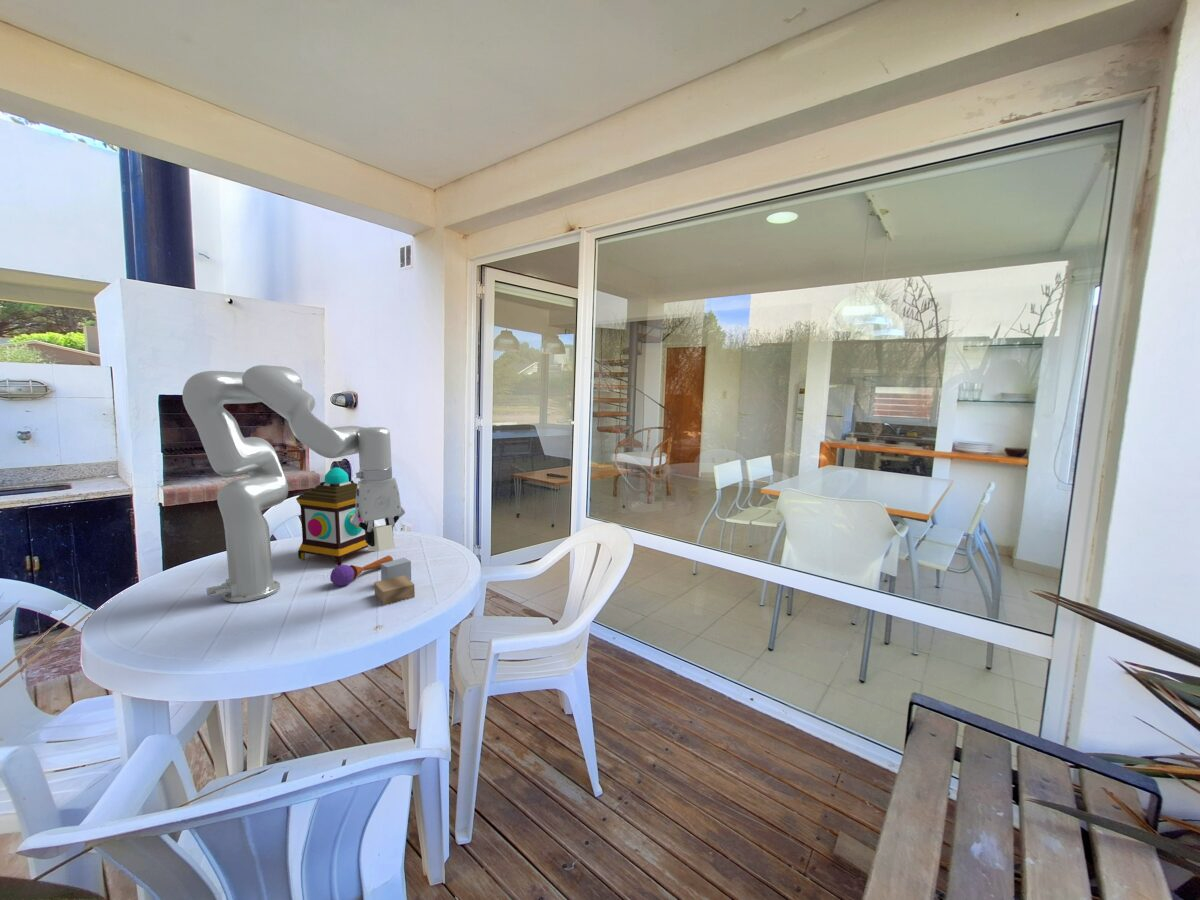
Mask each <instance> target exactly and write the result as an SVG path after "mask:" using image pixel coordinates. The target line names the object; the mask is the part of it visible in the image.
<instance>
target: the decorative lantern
mask: <svg viewBox="0 0 1200 900" xmlns="http://www.w3.org/2000/svg"><path fill="white" fill-rule="evenodd" d="M357 484H358V482H357V483H356V482H354V480H352V479H351V480H350V479H349V474H348V472H346V471H345V470H344V469H343V468H341V467H332V468H331V469H329V470H328V472H326V474H325V475H324V481H323V482H319V485H316V486H315V487H313V488H312V489H311V490H306V491H304V492H302V494H299V496H298V497H296V498H295V499H296V502H297V503H298V504H299V506H300V516H301V517H300V518H301V521H300V522H301V534H302V542H301V544H300V546H299V548H298V551H297V553H298V554H297V555H298V559H299V560H300V559H303V560H304V559H305V558H306V554H309V555H314V556H321V557H325V558H327V557H328V558H333V559H334V560H335V563H336V567H337V566H339V565H343V564H342V562H343V558H344V557H347V556H349V555H351V554H354V553H357V552H359V551H361V550H364V549H366V548H367V549H368V545H367V543H366V539H365V530H363V529H362V528H361V527H359V526H357V525H354V524H352V523H350V520H351V518H352V516H353V515H354V513H355V511H356V490H357ZM359 521H361V522H363V523H364V520H363V519H361V518H359ZM372 527H375V520H373V526H372Z"/></svg>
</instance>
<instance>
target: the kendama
mask: <svg viewBox="0 0 1200 900" xmlns="http://www.w3.org/2000/svg"><path fill="white" fill-rule="evenodd" d="M393 560H394V559H393V557H392V556H391V555H385V556H384V557H381V558H379V559H378V560H375V561H373V562H370V563H368V564H366V565H364V566H362V567H361V566H357V565H352V564H351V565H348V564H341V565H339V566H337V565H336V566H335V567H334V568H333V569H332V570H331V573H330V581H331V583H332V584H333V585H334V586H336V587H344V586H347V585H349V584H350V583H352V581H353V580H355V579H357V577H359V575H360V574H362V572H364V571H369V570H375V569H381V564H382V563H386V562H389V561H393Z"/></svg>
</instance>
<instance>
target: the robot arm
mask: <svg viewBox="0 0 1200 900" xmlns="http://www.w3.org/2000/svg"><path fill="white" fill-rule="evenodd" d="M181 395H182V402H183V406H184V408H185V410H186V412H187V414H188V416H189V418H190V419H191V421H192V423H193V424H194V427H195V428H196V430H197V433H198V436H199V439H200V441H201V444H202V446H203V449H204V451H205V453H206V454H205V455H206V456H207V459H208V462H209V464H210V467H211V468H212V469H213V471H214V472H215V473H216V474H218V475H220V476H225V477H226V476H227V477H228V476H230V477H231V476H237V475H241V474H246V473H247V474H248V475H249V476H247V477H242V478H239V479H235V480H233V481H230V482H227V483H226V484H225V485H223V486H222V487H221V488H220V489H219V491H218V494H217V498H216V499H217V505H218V508H219V511H220V514H221V518H222V521H223V528H224V535H225V536H224V537H225V547H226V560H227V570H228V571H227V572H228V578H226V579H225V582H223V583H221V585H220V584H219V585H217V586H210V587H206V595H207V596H212V595H215V597H216V596H221V595H222V599H223V600H224V601H225V602H228V601H229V602H231V603H245V601H246V602H251V601H255V600H260V599H263V598H266V597H268V596H271V595H273V594H275V593H277V592H278V591H279V590H280V588H281V583H280V582H279V581H278V580H276V579H274V576H273V563H272V562H273V561H272V549H271V548H272V547H271V535H270V526H269V523H268V520H267V519H266V517H265V516H264V515H263V512H262V511H264V510H266V509H269V508H272V507H274V506H275V507H276V506H278V505H280V504H282V503H283V502H284V501H285V500H286V499H287V497H288V495H289V484H288V481H287V478H286V476H285V473H284V469H283V468H282V465H281V462H280V460H279V457H278V454H277V452H276V450H275V448H274V447H273V445H272V444H271V443H270V442H269V441H267V440H266V439H264V438H261V437H258V436H249V437H248V436H247V437H244V436H243V434H242V432H241V429H240V426H239V423H238V422H237V420H236V418H235V417H234V416H233V414H232V413H230V411H228V410H227V409H226V408H225V407H224V405H226V404H227V405H231V404H233V405H234V404H254V403H255V404H256V403H263V404H264V405H266V406H267V407H268V408H270V409H271V411H274V412H275V413H277V414H278V415H279V416H281V417H282V418H284V419H285V420H286V421H287V422H288V427H289V428H290V430H291V432H292V434H293V436H294V437H295V438H296V439H297V440H298V441H299V442H300V443H301V444H303V446H305V447H307V448H308V449H309V450H311V451H313V452H314V453H316V454H318V455H319V456H321V457H324V458H328V459H337V458H342V457H347V456H351V455H355V454H356V455H357V454H358V459H359V460H358V463H359V468H358V472H354V473H353V474H354V476H353V477H354V478H355V479H359V480H358V481H357V490H356V511H355V513H354V515H353V516H352V518H351V520H350V523H352V524H354V525H357V526H359V527H361V528H362V529H363V530H365V539H366V543H367V544H368V545H370V546H372V547H373V546H374V531H372V526H373V520H374V521H379V520H383V519H384V523H385V525H392V531H393V532H394V528H395V525H396V523H397V522H398V521H399V520H400V518H401V517H403V516H404V515H405V513H406V511H405V509H404V508H402V506H401V497H400V492H399V487H398V482H397V479H396V478H395V477H393V469H392V447H391V432H390V430H389V429H388V428H386V427H382V426H371V427H369V426H368V427H364V426H357V425H344V426H335V427H331V426H329V424H326V423H324V421H322V420H321V419H319V418H318V417H316V416H315V415H314V413H313V412H312V411H313V410H314V408H315V405H316V399H315V397H314V396H313V395H312V394H310V393H309V392H308V391H306V390H305V389H303V380H302V378H301V376H300V375H299V373H297V372H296V371H295V370H294V369H292V368H290V367H287V366H279V365H278V366H277V365H269V364H268V365H266V364H261V365H260V364H259V365H254V366H251V367H249V368H248V369H246V371H243V372H242V371H228V370H207V371H206V370H205V371H201V372H197V373H195V374H193V375H192V376H190V377H189V378H188V379H187V381H186V382H185V384H184V386H183V389H182V394H181ZM359 518H361V519H363V520H364V523H363V522H361V521H359Z"/></svg>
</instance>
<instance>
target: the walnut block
mask: <svg viewBox="0 0 1200 900" xmlns="http://www.w3.org/2000/svg"><path fill="white" fill-rule="evenodd" d="M373 588H374V596H375V597H376V599H377V600H378V599H379V600H378V601H379V602H380V603H381V604H382V605H383V606H387V604H388V605H391V603H392V604H395V603H398V601H399V602H402V601H401V600H403V601H406V600H405V599H407V600H410V599H409V598H411V599H413V597H414V598H416V597H415V595H416V594H415V593H416V592H415V583H414V582H412V580H409V579H408V578H407V577H406V576H405V575H403V576H399V577H395V578H390V579H386V580H382V581H381V580H378V581H375V582H374V587H373Z"/></svg>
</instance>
